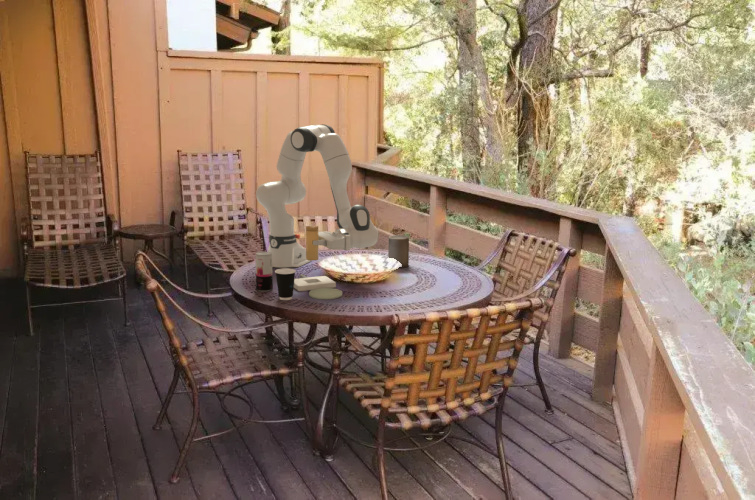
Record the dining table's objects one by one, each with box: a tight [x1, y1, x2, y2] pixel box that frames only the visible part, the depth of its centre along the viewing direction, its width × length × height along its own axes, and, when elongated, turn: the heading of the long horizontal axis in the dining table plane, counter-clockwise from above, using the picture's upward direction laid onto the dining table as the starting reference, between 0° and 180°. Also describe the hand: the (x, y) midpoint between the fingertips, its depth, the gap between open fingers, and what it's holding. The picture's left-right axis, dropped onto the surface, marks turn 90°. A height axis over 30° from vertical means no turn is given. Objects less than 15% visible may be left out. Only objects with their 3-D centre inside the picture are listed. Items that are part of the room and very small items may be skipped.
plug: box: [305, 225, 319, 262], centre depth 273 cm, size 5×5×14 cm
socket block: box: [293, 273, 337, 292], centre depth 280 cm, size 16×20×2 cm
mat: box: [308, 287, 343, 300], centre depth 263 cm, size 13×13×1 cm
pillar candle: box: [387, 234, 410, 269], centre depth 313 cm, size 10×10×15 cm
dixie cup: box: [274, 267, 297, 301], centre depth 256 cm, size 8×8×11 cm
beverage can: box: [255, 251, 274, 293], centre depth 268 cm, size 6×7×15 cm
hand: (310, 241), depth 272 cm, fingers closed on plug, 5 cm apart
